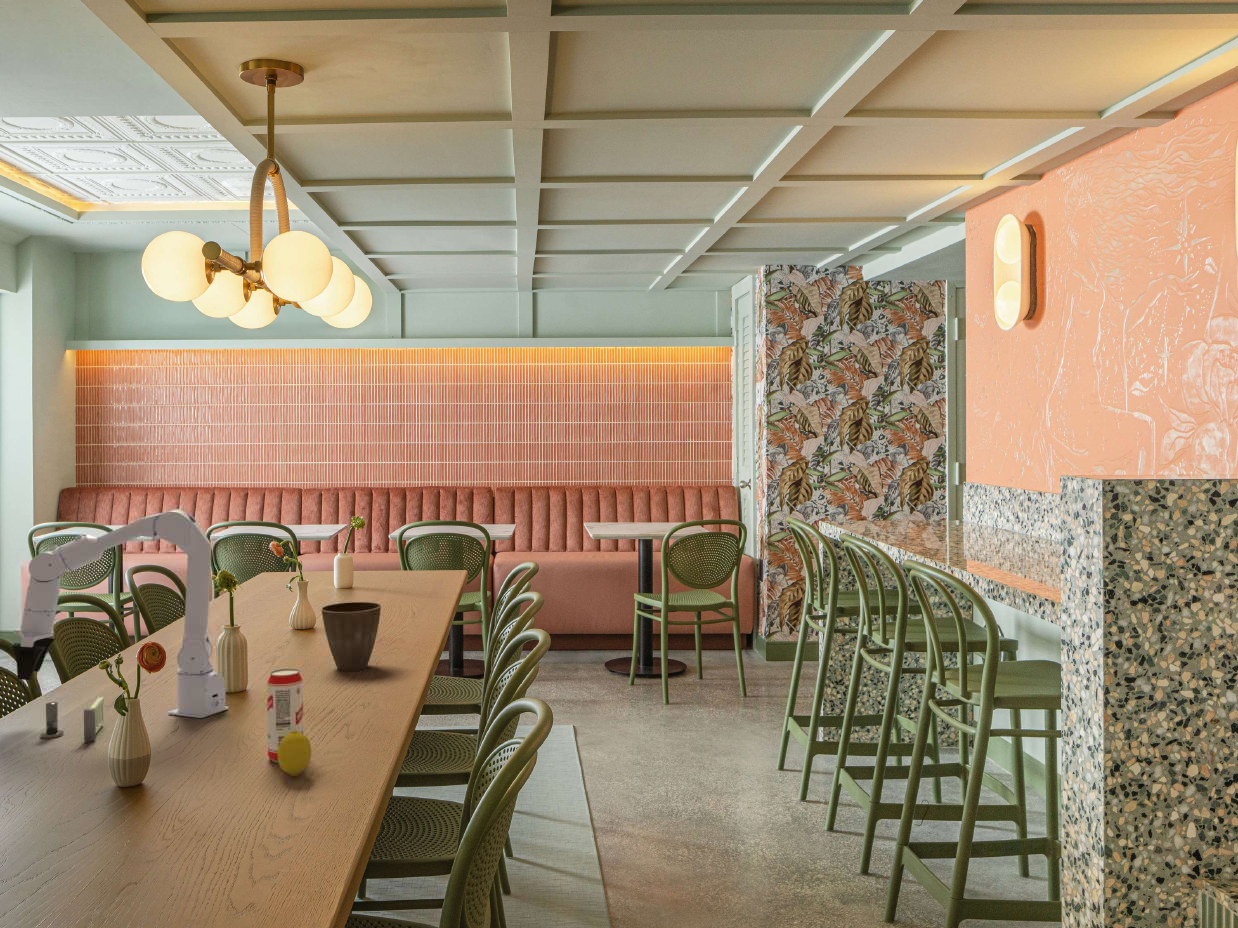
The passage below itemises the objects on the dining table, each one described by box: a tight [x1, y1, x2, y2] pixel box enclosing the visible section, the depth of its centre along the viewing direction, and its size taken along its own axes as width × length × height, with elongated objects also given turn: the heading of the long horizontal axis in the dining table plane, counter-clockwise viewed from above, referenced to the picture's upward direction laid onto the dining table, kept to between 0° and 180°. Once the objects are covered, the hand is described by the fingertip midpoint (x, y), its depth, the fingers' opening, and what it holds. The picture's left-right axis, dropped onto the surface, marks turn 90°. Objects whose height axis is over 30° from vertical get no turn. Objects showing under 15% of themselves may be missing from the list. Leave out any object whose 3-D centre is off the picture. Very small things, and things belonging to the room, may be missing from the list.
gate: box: [83, 696, 105, 742], centre depth 190 cm, size 12×2×6 cm, turn 18°
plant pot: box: [320, 601, 382, 672], centre depth 246 cm, size 15×15×16 cm
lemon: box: [278, 730, 312, 777], centre depth 165 cm, size 6×6×8 cm
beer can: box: [266, 668, 305, 764], centre depth 174 cm, size 6×6×16 cm
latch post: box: [39, 701, 65, 740], centre depth 189 cm, size 4×4×6 cm
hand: (28, 675), depth 196 cm, fingers open, 7 cm apart
